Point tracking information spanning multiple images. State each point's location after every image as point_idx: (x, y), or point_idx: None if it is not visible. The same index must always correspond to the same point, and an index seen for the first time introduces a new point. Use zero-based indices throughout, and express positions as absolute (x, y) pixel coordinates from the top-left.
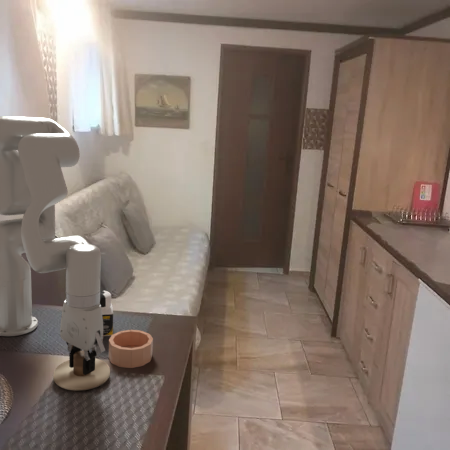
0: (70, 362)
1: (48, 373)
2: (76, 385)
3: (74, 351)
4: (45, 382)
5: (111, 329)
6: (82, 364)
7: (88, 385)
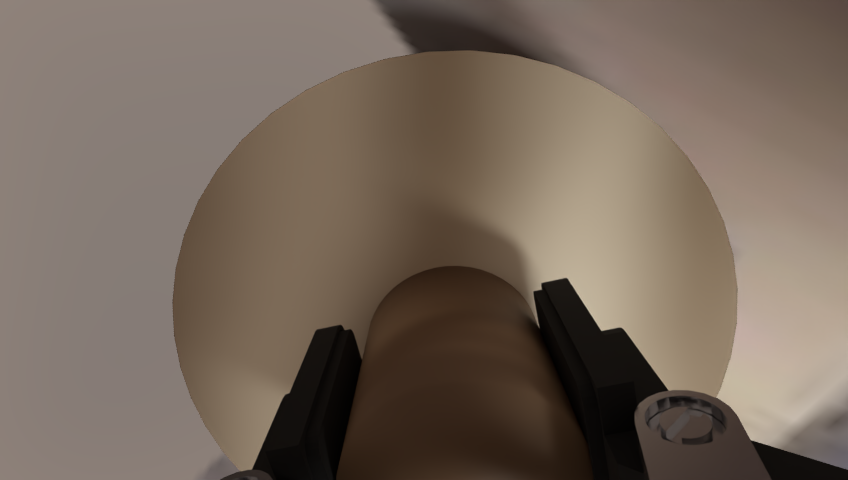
0: (564, 308)
1: (740, 108)
2: (247, 188)
3: (609, 453)
4: (613, 7)
5: None
6: (359, 389)
7: (187, 282)
